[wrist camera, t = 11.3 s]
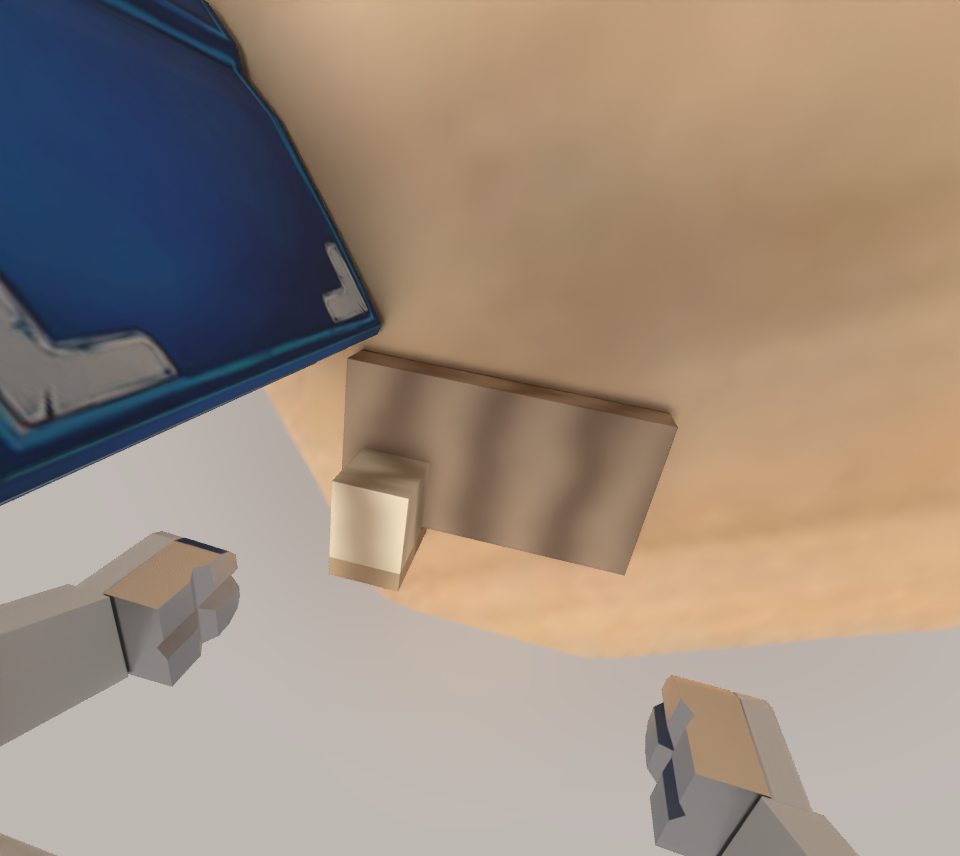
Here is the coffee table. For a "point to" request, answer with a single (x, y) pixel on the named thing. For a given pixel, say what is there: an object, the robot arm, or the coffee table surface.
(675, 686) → the robot arm
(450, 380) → the board
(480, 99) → the coffee table surface
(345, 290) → the book
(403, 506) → the block
